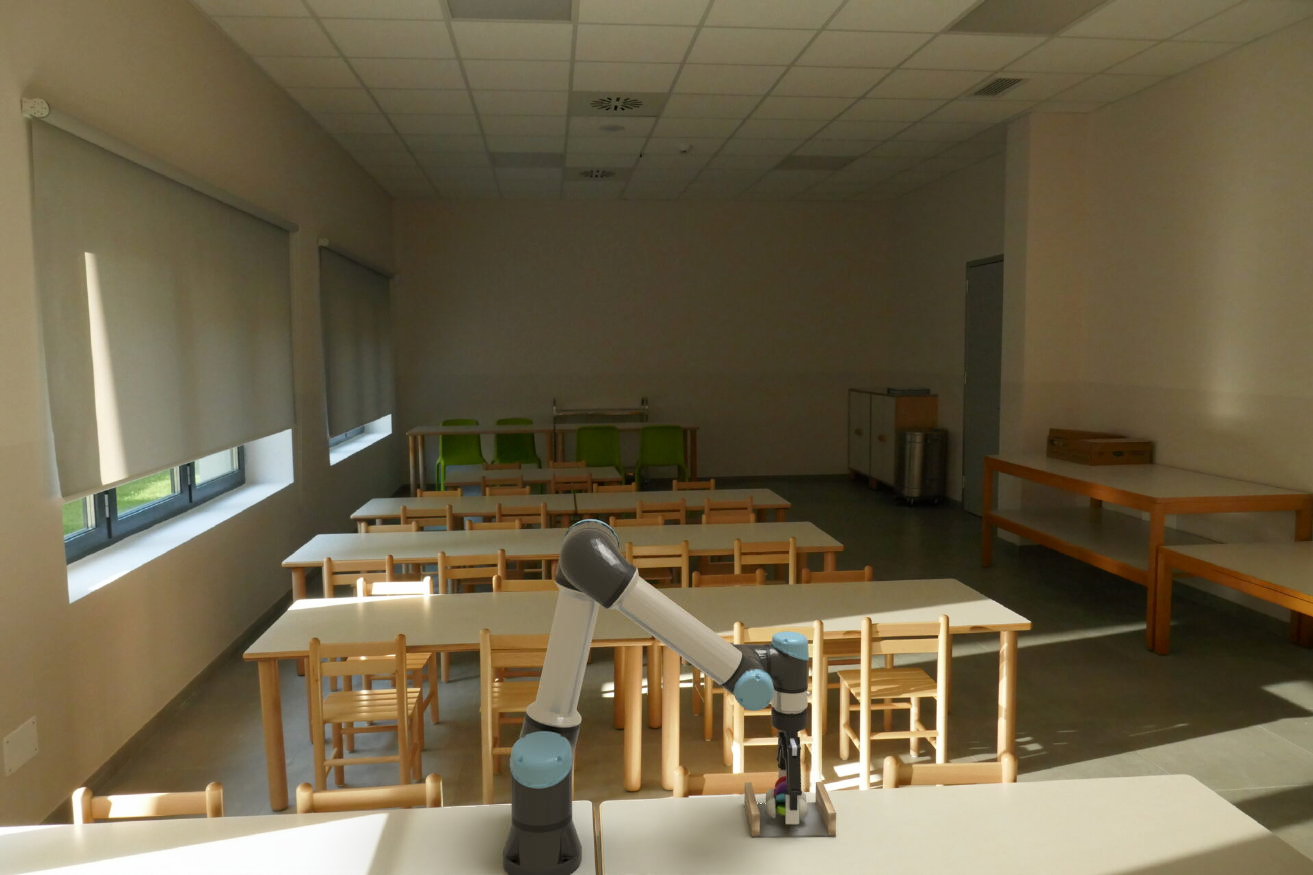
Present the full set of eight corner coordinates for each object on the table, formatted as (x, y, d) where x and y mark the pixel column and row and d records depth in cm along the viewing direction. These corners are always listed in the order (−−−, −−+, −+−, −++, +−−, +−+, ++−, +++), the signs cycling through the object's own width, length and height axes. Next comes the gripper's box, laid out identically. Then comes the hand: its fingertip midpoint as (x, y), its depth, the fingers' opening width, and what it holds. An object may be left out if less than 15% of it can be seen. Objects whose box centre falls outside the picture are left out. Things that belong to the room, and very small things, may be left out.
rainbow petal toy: (805, 802, 201) (805, 770, 200) (808, 825, 191) (808, 790, 190) (765, 800, 202) (765, 768, 201) (766, 823, 192) (766, 788, 191)
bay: (752, 837, 189) (752, 813, 189) (744, 804, 203) (744, 782, 203) (835, 836, 190) (836, 812, 189) (822, 803, 204) (822, 781, 203)
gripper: (817, 728, 183) (816, 837, 185) (798, 688, 205) (797, 786, 207) (779, 728, 183) (778, 838, 185) (764, 688, 205) (763, 787, 207)
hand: (788, 810), depth 196 cm, fingers closed on rainbow petal toy, 9 cm apart
